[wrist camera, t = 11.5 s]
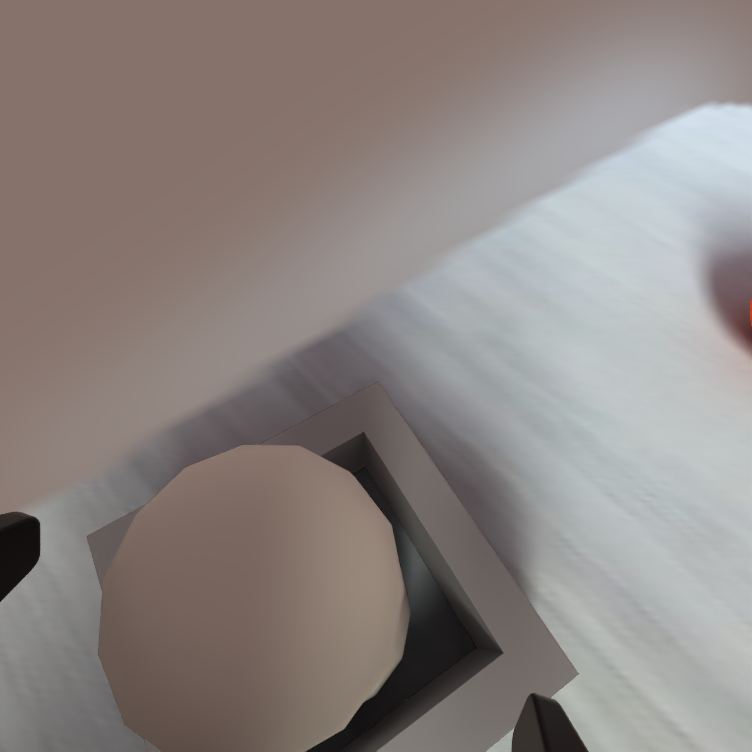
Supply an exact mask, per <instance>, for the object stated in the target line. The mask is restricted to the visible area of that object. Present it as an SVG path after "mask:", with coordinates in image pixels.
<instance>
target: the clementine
mask: <svg viewBox="0 0 752 752" xmlns="http://www.w3.org/2000/svg"><path fill="white" fill-rule="evenodd" d="M750 319H751V326H752V299H751V301H750Z"/></svg>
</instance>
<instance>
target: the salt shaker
mask: <svg viewBox="0 0 752 752" xmlns="http://www.w3.org/2000/svg"><path fill="white" fill-rule="evenodd" d="M410 613H411V611H410V607H409V602H408V597H407V592H406V587H405V582H404V577H403V572H402V570H401V568H400V564H399V559H398V554H397V549H396V544H395V539H394V534H393V529H392V525H391V523H390V522H389V521H388V520H387V518H386V517H385V516H384V514H383V513H382V512H381V510H380V509H379V508H378V507H377V505H376V504H375V503H374V501H373V500H372V499H371V497H370V496H369V495H368V494H367V492H366V491H365V490H364V488H363V487H362V486H361V484H360V483H359V482H358V481H357V479H356V478H355V477H354V476H353V475H352V474H351V473H350V472H349V471H347V470H345V469H343V468H341V467H340V466H338V465H336V464H334V463H332V462H330V461H328V460H326V459H324V458H322V457H320V456H319V455H317V454H315V453H313V452H311V451H309V450H307V449H305V448H303V447H301V446H289V445H241V446H238V447H236V448H233V449H231V450H228V451H226V452H223V453H221V454H218V455H215V456H213V457H210V458H208V459H205V460H203V461H200V462H197V463H195V464H192V465H190V466H187V467H185V468H184V469H183V470H182V471H181V472H180V473H179V474H178V475H177V476H176V477H175V478H173V479H172V480H171V481H170V482H169V483H168V484H167V485H166V486H165V487H164V488H163V489H162V490H161V491H160V492H159V493H158V494H157V495H156V496H155V497H153V498H152V499H151V500H150V501H149V502H148V503H147V504H146V505H145V506H144V507H143V508H142V509H141V510H140V511H139V512H138V513H137V514H136V516H135V518H134V520H133V522H132V524H131V525H130V527H129V529H128V531H127V533H126V535H125V537H124V539H123V541H122V543H121V545H120V547H119V549H118V551H117V553H116V555H115V557H114V559H113V561H112V563H111V565H110V567H109V568H108V570H107V572H106V574H105V576H104V578H103V590H102V605H101V619H100V634H99V648H98V655H99V658H100V660H101V663H102V666H103V668H104V671H105V674H106V676H107V679H108V682H109V684H110V687H111V689H112V692H113V695H114V697H115V700H116V703H117V705H118V708H119V711H120V713H121V716H122V718H123V721H124V724H125V725H126V726H127V727H129V728H130V729H131V730H133V731H134V732H136V733H137V734H138V735H140V736H141V737H143V738H144V739H145V740H147V741H148V742H150V743H151V744H152V745H154V746H155V747H157V748H158V749H159V750H161V751H162V752H305V751H307V750H308V749H310V748H312V747H314V746H315V745H317V744H319V743H321V742H322V741H324V740H326V739H328V738H329V737H331V736H333V735H335V734H336V733H338V732H340V731H341V730H343V729H345V727H346V726H347V724H348V723H349V721H350V720H351V719H352V717H353V716H354V714H355V713H356V712H357V710H358V709H359V707H360V706H361V705H362V703H363V702H365V701H367V700H369V699H370V698H372V697H374V696H375V695H376V694H377V693H378V691H379V690H380V689H381V687H382V686H383V684H384V683H385V682H386V680H387V679H388V677H389V676H390V675H391V673H392V672H393V670H394V669H395V668H396V666H397V665H398V663H399V662H400V661H401V659H402V658H403V652H404V647H405V641H406V635H407V630H408V624H409V619H410Z"/></svg>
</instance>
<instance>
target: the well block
mask: <svg viewBox="0 0 752 752" xmlns="http://www.w3.org/2000/svg"><path fill="white" fill-rule="evenodd" d="M259 445H289V446H301V447H303V448H305V449H307V450H309V451H311V452H313V453H315V454H317V455H319V456H320V457H322V458H324V459H326V460H328V461H330V462H332V463H334V464H336V465H338V466H340V467H341V468H343V469H345V470H347V471H349V472H350V473H351V474H353V473H355V472H356V471H358V470H360V469H361V468H363V467H365V466H366V467H367V469H368V470H369V472H370V474H371V475H372V477H373V479H374V480H375V482H376V484H377V485H378V487H379V488H380V490H381V492H382V493H383V495H384V497H385V498H386V500H387V502H388V503H389V505H390V506H391V508H392V510H393V511H394V513H395V515H396V516H397V518H398V520H399V521H400V523H401V525H402V526H403V528H404V529H405V531H406V533H407V534H408V536H409V538H410V539H411V541H412V543H413V544H414V546H415V547H416V549H417V551H418V552H419V554H420V556H421V557H422V559H423V561H424V562H425V564H426V565H427V567H428V569H429V570H430V572H431V574H432V575H433V577H434V579H435V580H436V582H437V584H438V585H439V587H440V588H441V590H442V592H443V593H444V595H445V597H446V598H447V600H448V602H449V603H450V605H451V606H452V608H453V610H454V611H455V613H456V615H457V616H458V618H459V620H460V621H461V623H462V624H463V626H464V628H465V629H466V631H467V633H468V634H469V636H470V638H471V639H472V641H473V643H474V644H475V646H476V647H477V648H475V649H474V650H473V651H471V652H470V653H469V654H467V655H466V656H465V657H463V658H462V659H461V660H459V661H458V662H457V663H455V664H454V665H453V666H451V667H450V668H449V669H447V670H446V671H445V672H443V673H442V674H441V675H440V676H438V677H437V678H436V679H434V680H433V681H432V682H430V683H429V684H428V685H426V686H425V687H424V688H422V689H421V690H420V691H418V692H417V693H416V694H414V695H413V696H412V697H410V698H409V699H408V700H406V701H405V702H404V703H402V704H401V705H400V706H398V707H397V708H396V709H394V710H393V711H392V712H390V713H389V714H388V715H386V716H385V717H384V718H382V719H381V720H380V721H378V722H377V723H376V724H374V725H373V726H372V727H370V728H369V729H368V730H366V731H365V732H364V733H363V734H361V735H360V736H359V737H357V738H356V739H355V740H353V741H352V742H351V743H349V744H348V745H347V746H345V747H344V748H343V749H341V750H340V751H339V752H486V751H487V750H488V749H489V748H490V747H492V746H493V745H494V744H495V743H496V742H498V741H499V740H500V739H501V738H502V737H504V736H505V735H506V734H507V733H508V732H510V731H511V730H512V729H513V728H514V727H515V726H516V723H517V721H518V719H519V716H520V714H521V711H522V709H523V707H524V704H525V702H526V699H527V697H528V696H529V695H530V694H531V693H537V694H540V695H543V696H545V697H548V698H551V697H552V696H553V695H554V694H555V693H557V692H558V691H559V690H560V689H561V688H563V687H564V686H565V685H566V684H567V683H569V682H570V681H571V680H572V679H573V678H575V677H576V676H577V675H578V674H579V673H578V672H577V671H576V669H575V668H574V666H573V665H572V663H571V662H570V660H569V659H568V657H567V656H566V655H565V653H564V652H563V650H562V649H561V647H560V646H559V644H558V643H557V641H556V640H555V638H554V637H553V636H552V634H551V633H550V631H549V630H548V628H547V627H546V625H545V624H544V622H543V621H542V620H541V618H540V617H539V615H538V614H537V612H536V611H535V609H534V608H533V606H532V605H531V604H530V602H529V601H528V599H527V598H526V596H525V595H524V593H523V592H522V590H521V589H520V588H519V586H518V585H517V583H516V582H515V580H514V579H513V577H512V576H511V574H510V573H509V572H508V570H507V569H506V567H505V566H504V564H503V563H502V561H501V560H500V558H499V557H498V556H497V554H496V553H495V551H494V550H493V548H492V547H491V545H490V544H489V542H488V541H487V540H486V538H485V537H484V535H483V534H482V532H481V531H480V529H479V528H478V526H477V525H476V524H475V522H474V521H473V519H472V518H471V516H470V515H469V513H468V512H467V510H466V509H465V508H464V506H463V505H462V503H461V502H460V500H459V499H458V497H457V496H456V494H455V493H454V492H453V490H452V489H451V487H450V486H449V484H448V483H447V481H446V480H445V478H444V477H443V476H442V474H441V473H440V471H439V470H438V468H437V467H436V465H435V464H434V462H433V461H432V460H431V458H430V457H429V455H428V454H427V452H426V451H425V449H424V448H423V446H422V445H421V444H420V442H419V441H418V439H417V438H416V436H415V435H414V433H413V432H412V430H411V429H410V428H409V426H408V425H407V423H406V422H405V420H404V419H403V417H402V416H401V414H400V413H399V412H398V410H397V409H396V407H395V406H394V404H393V403H392V401H391V400H390V398H389V397H388V396H387V394H386V393H385V391H384V390H383V388H382V387H381V385H380V384H379V382H376V383H374V384H372V385H371V386H369V387H367V388H365V389H363V390H361V391H359V392H357V393H355V394H354V395H352V396H350V397H348V398H346V399H344V400H342V401H340V402H338V403H337V404H335V405H333V406H331V407H329V408H327V409H325V410H323V411H322V412H320V413H318V414H316V415H314V416H312V417H310V418H308V419H306V420H305V421H303V422H301V423H299V424H297V425H295V426H293V427H291V428H289V429H288V430H286V431H284V432H282V433H280V434H278V435H276V436H274V437H273V438H271V439H269V440H267V441H265V442H263V443H261V444H259ZM144 506H145V505H144ZM144 506H142V507H141V508H139V509H137V510H135V511H133V512H131V513H129V514H127V515H125V516H124V517H122V518H120V519H118V520H116V521H114V522H112V523H110V524H109V525H107V526H105V527H103V528H101V529H99V530H97V531H95V532H93V533H92V534H90V535H88V536H87V539H88V543H89V546H90V550H91V554H92V557H93V561H94V564H95V568H96V571H97V575H98V578H99V582H100V585H101V589H102V590H103V578H104V576H105V574H106V572H107V570H108V568H109V567H110V565H111V563H112V561H113V559H114V557H115V555H116V553H117V551H118V549H119V547H120V545H121V543H122V541H123V539H124V537H125V535H126V533H127V531H128V529H129V527H130V525H131V524H132V522H133V520H134V518H135V516H136V514H137V513H138V512H139V511H140V510H141V509H142V508H143V507H144ZM144 742H145V745H146V749H147V752H162V751H161V750H159V749H158V748H157V747H155V746H154V745H152V744H151V743H150V742H148V741H147V740H145V739H144Z"/></svg>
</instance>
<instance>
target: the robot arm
mask: <svg viewBox="0 0 752 752" xmlns="http://www.w3.org/2000/svg"><path fill="white" fill-rule="evenodd" d="M39 557H40V522H39V520H38V519H37V518H36V517H33V516H30V515H27V514H25V513H22V512H10V513H6V514H1V515H0V602H1V601H2V600H3V599H4V598H5V597H6V596H7V595H8V594H9V593H10V592H11V590H12V589H13V588H14V587H15V586H16V585H17V584H18V583H19V582H20V581H21V580H22V579H23V578H24V577H25V576H26V575H27V574H28V573H29V572H30V571H31V570H32V569H33V568H34V566H35V565H36V563H37V562H38V560H39ZM512 752H589V751H588V750H587V748H586V746H585V745H584V743H583V741H582V740H581V738H580V736H579V735H578V733H577V731H576V730H575V728H574V727H573V725H572V723H571V722H570V720H569V718H568V717H567V715H566V713H565V712H564V710H563V708H562V707H561V705H560V704H559V703H558V702H557V701H556V700H554V699H551V698H548V697H545V696H543V695H540V694H537V693H531V694H530V695H529V696H528V697H527V699H526V702H525V704H524V707H523V709H522V711H521V714H520V716H519V719H518V721H517V723H516V726H515V729H514V732H513V738H512Z"/></svg>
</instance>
